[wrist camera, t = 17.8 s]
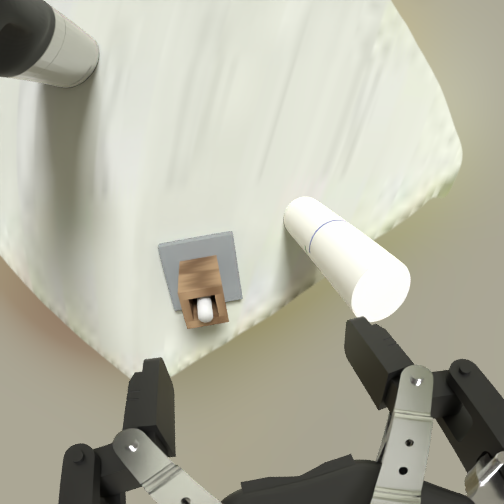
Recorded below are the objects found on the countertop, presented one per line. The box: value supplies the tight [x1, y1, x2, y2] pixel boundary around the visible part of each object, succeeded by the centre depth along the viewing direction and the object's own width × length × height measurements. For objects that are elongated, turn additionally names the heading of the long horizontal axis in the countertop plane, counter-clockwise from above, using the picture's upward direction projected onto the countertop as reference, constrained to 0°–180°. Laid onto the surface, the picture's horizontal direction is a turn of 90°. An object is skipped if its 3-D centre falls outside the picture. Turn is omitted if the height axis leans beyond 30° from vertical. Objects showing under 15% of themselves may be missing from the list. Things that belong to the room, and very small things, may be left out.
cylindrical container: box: [284, 197, 410, 322], centre depth 41 cm, size 7×7×25 cm
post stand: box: [158, 231, 243, 323], centre depth 47 cm, size 12×12×14 cm
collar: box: [178, 255, 229, 329], centre depth 47 cm, size 6×6×10 cm
